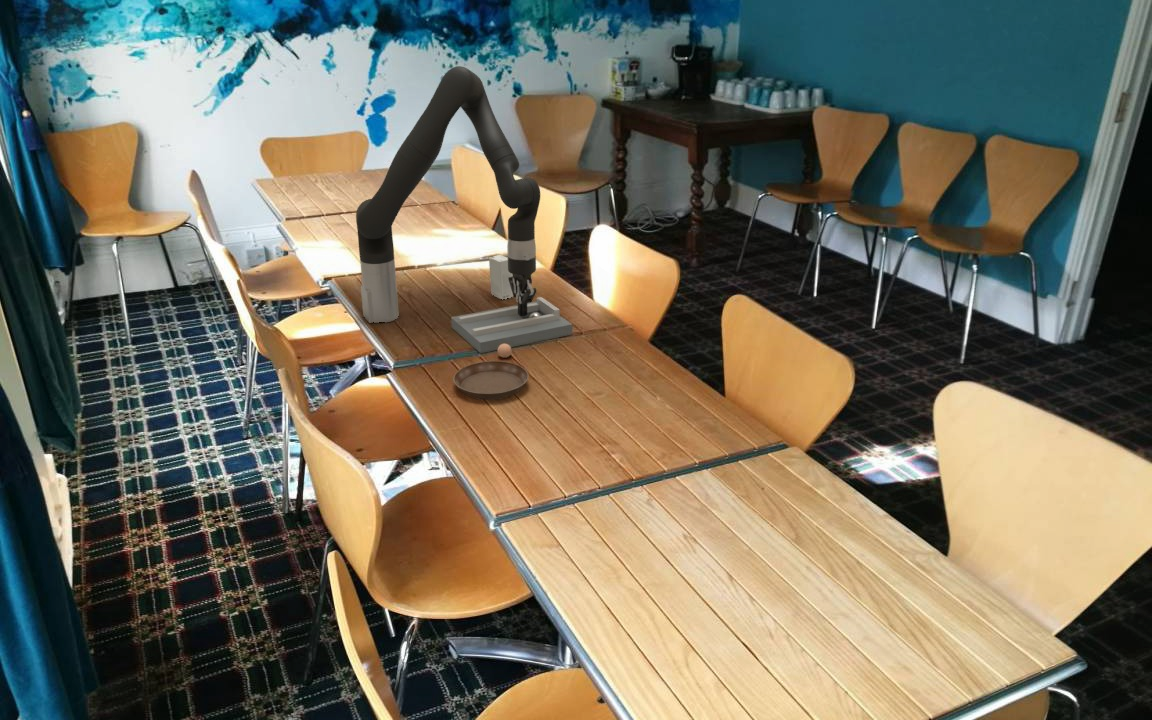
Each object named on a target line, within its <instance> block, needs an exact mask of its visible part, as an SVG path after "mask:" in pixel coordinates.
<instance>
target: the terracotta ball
mask: <svg viewBox="0 0 1152 720" xmlns="http://www.w3.org/2000/svg"><path fill="white" fill-rule="evenodd" d="M496 351H497V354H498V355H499V357H501V358H502V359H503V358H509V356H511V354H512V352H513V351H512V347H510V346H509V345H508V344H501V345H500V346H499V347H498V350H496Z"/></svg>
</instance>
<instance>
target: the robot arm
mask: <svg viewBox="0 0 1152 720" xmlns="http://www.w3.org/2000/svg"><path fill="white" fill-rule="evenodd" d="M460 109H462V111H463V112H464V113H465V114H466V116H467V117H468V118H469V120H470V121H471V124H472V126H473V127H474V130H475V132H476V134H477V138H478V141H479V144H480V147H481V151H482V152H483V154H484V156H485V159H486V160H487V162H488V164H489V166H490V168H491V169H492V171H493V174H494V178H495V182H496V186H497V190H498V194H499V197H500V200H501V201H502V203H503V204H504V205H505V206H506V207H508V208H509V209H513V210H515V209H517V210H516V212H515V213H514V214H513V215H510V217H509V218H508V219H507V245H506V248H507V258H508V271H509V272H510V273H512V277H509V278H508V279H509V283H510V286H511V290H512V293H513V298H515V300H516V301H515V302H517V305H518V314H519V315H520V316H526V315H527V303H531V302H533V300H534V298H535V295H536V294H537V288H536V287H535V288H533V286H532V285H533V284H532V283H533V280H532V275H533V274H534V273H535V272H536V270H537V255H536V254H537V253H536V252H537V249H536V248H537V247H536V238H535V237H536V236H535V235H536V234H535V232H536V231H535V230H536V229H535V228H536V227H535V221H536V219H537V214H538V211H539V205H540V201H541V189H540V185H539V183H538V182H537V181H536V180H535V179H534V178H533V177H523V178H519V179H515V176H514V173H516V172H517V171H518V170H519V167H520V162H519V159H518V158H517V155H516V153H515V152H514V149H513V148H512V146H511V145H510V143H509V140H508V139H507V137H506V136H505V134H504V132H503V130H502V128H501V126H500V124H499V122H498V121H497V117H496V116H495V114H494V112H493V109H492V106H491V104H490V101H489V99H488V95H487V92H486V90H485V86H484V84H483V81H482V79H481V78H480V77H479V76H478V75H477V74H476V73H475V72H473V70H469V68H467V67H465V66H460V65H458V66H454V67H451V68H450V69H449V70H447V71H446V73H444V75H443V76H442V78H441V80H440V81H439V83H438V86H437V87H436V90H435V91H434V93H433V95H432V97H431V99H430V101H429V103H428V104H427V106H426V108H425V110H424V111H423V113H422V114H421V116H420V117H419V119H417V121H416V123H415V125H414V126H413V127H412V129H411V130H410V132H409V133H408V135H407V136H406V138H405V139H404V141H403V143H402V144H401V145H400V146H399V148H398V149H397V152H396V153H395V155H394V156H393V159H392V162H391V163H390V165H389V168H388V170H387V173H386V174H385V177H384V179H383V182H382V183H381V185H380V187H379V189H378V190H377V191H376V193H375V194H374V195H373V196H372V198H369V199H365V200H364V201H362V202H361V203H360V204H359V205H358V207H357V209H356V212H355V222H356V229H357V230H356V231H357V237H358V239H357V240H358V253H359V259H360V260H359V263H360V272H361V282H362V284H360V295H361V303H362V304H361V305H362V314H363V315H362V316H363V317H365V318H364V319H365V320H366V321H367V322H368V323H370V324H372V323H373V322H374V323H373V324H375V323H376V324H377V323H378V324H380V323H379V322H385V323H390V322H393V321H396V320H397V319H399V317H398V316H400V315H399V310H400V309H399V300H398V299H399V298H398V288H397V287H398V286H397V275H396V261H395V247H394V240H393V239H394V238H393V228H392V226H393V224H394V222H395V219H396V217H397V216H398V215H399V212H400V210H401V209H402V207H403V205H404V203H405V202H406V201H407V199H408V197H409V196H410V195H411V194H412V192H413V191H414V190H415V189H416V187H417V186H418V185H419V183H420V182H421V181H422V180H423V178H424V177H425V176H426V174H427V172H428V171H429V170H430V169H431V167H432V165H433V164H434V162H435V161H436V159H437V158H438V156H439V155H440V152H441V149H442V146H443V142H444V139H445V136H446V135H445V134H446V131H447V129H448V126H449V124H450V122H451V120H452V119H453V117H454V116H455V115H456V113H457V112H458V111H459V110H460ZM395 319H396V320H395Z"/></svg>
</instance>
